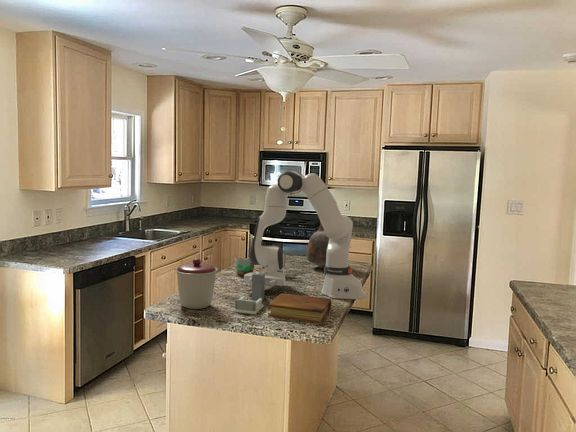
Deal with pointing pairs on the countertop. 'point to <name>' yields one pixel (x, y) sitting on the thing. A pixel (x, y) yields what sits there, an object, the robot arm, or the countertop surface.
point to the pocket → (247, 305)
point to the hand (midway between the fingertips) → (260, 282)
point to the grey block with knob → (258, 285)
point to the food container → (244, 266)
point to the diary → (300, 307)
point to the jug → (318, 248)
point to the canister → (196, 284)
